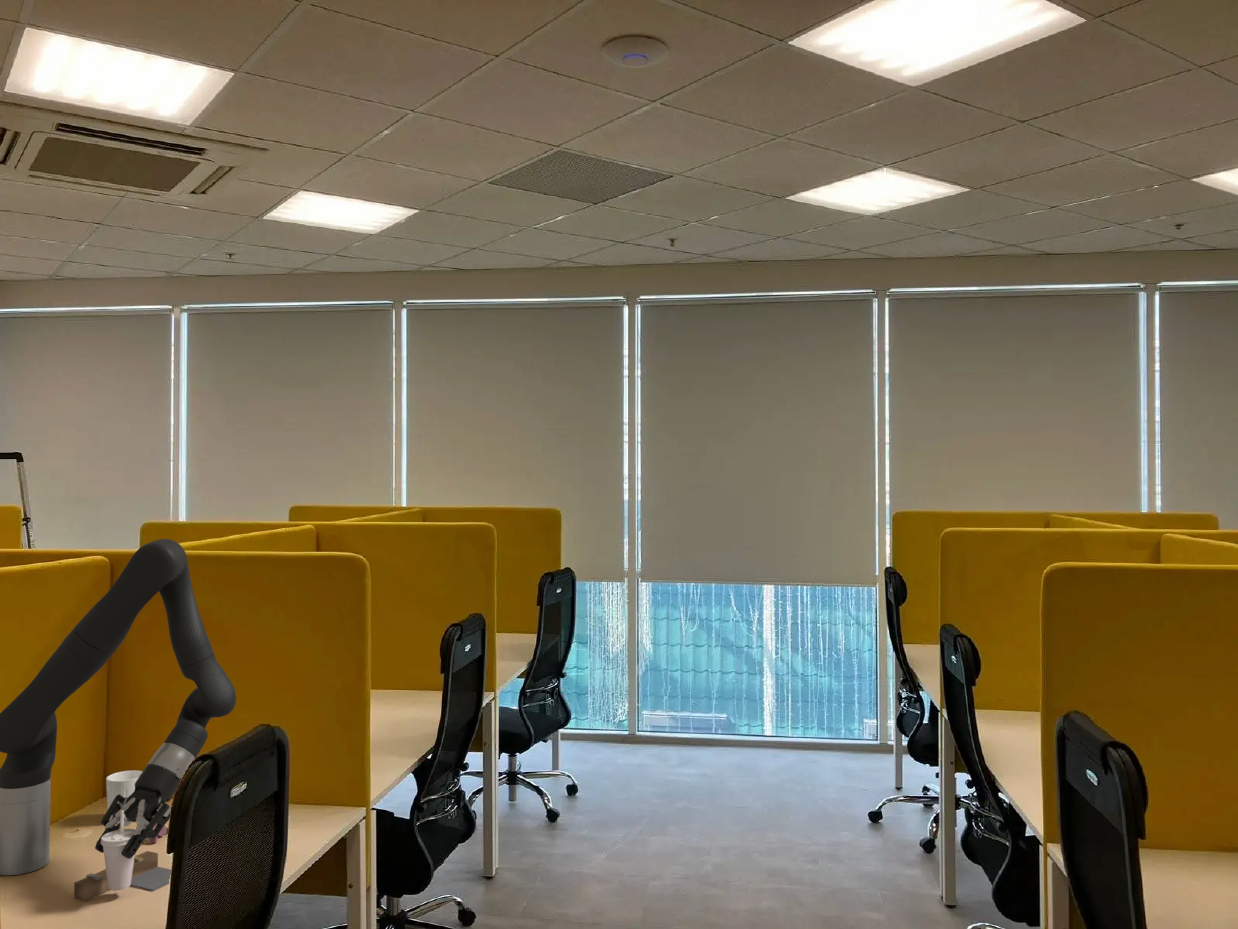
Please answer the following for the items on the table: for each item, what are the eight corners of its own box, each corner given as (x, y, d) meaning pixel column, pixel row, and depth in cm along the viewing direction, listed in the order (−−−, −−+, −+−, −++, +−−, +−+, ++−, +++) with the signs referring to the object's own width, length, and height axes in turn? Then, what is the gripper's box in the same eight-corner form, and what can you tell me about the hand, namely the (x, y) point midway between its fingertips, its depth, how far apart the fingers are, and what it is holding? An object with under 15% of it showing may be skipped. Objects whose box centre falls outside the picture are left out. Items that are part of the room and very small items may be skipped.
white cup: (110, 814, 214) (110, 772, 214) (147, 811, 216) (147, 769, 216) (101, 826, 206) (102, 782, 206) (140, 823, 208) (140, 779, 209)
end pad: (122, 884, 177) (122, 882, 177) (157, 868, 184) (157, 866, 184) (152, 891, 174) (152, 889, 174) (186, 874, 181) (187, 873, 181)
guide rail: (73, 898, 170) (73, 880, 170) (146, 865, 185) (146, 849, 185) (85, 901, 169) (85, 883, 169) (157, 868, 184) (158, 851, 184)
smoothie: (146, 879, 174) (146, 806, 175) (124, 894, 168) (125, 819, 168) (114, 878, 175) (115, 805, 175) (92, 893, 169) (92, 817, 169)
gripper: (128, 758, 181) (72, 839, 170) (181, 767, 176) (127, 851, 165) (150, 776, 186) (97, 856, 175) (203, 785, 181) (151, 868, 170)
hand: (112, 853), depth 170 cm, fingers closed on smoothie, 6 cm apart
